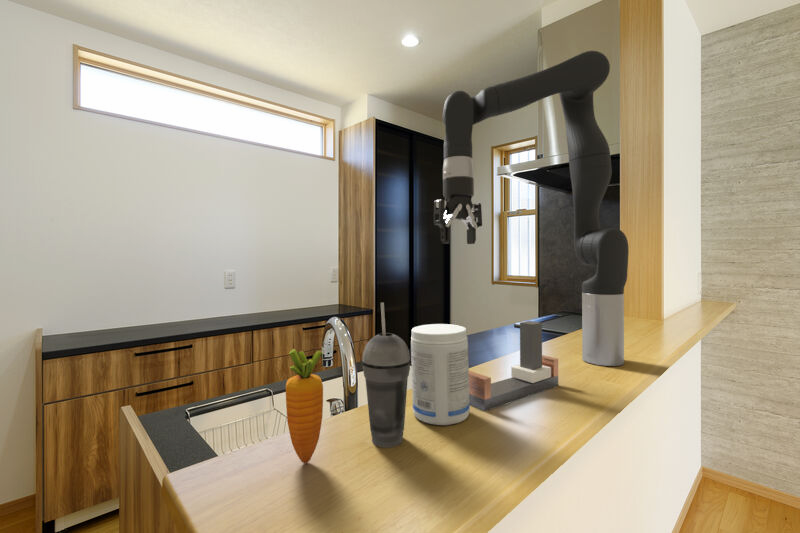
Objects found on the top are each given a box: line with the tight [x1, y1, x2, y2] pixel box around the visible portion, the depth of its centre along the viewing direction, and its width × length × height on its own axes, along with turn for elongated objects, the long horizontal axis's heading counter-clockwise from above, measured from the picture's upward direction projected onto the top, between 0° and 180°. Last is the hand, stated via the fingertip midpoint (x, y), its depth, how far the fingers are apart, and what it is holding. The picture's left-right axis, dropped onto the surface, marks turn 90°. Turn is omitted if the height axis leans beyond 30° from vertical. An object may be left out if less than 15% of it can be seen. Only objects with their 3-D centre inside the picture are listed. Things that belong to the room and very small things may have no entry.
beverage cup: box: [360, 302, 412, 449], centre depth 54 cm, size 7×7×20 cm
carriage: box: [510, 320, 551, 383], centre depth 76 cm, size 6×5×11 cm
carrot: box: [285, 348, 324, 464], centre depth 48 cm, size 5×5×15 cm
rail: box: [469, 354, 559, 412], centre depth 72 cm, size 22×5×6 cm, turn 125°
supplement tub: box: [410, 323, 471, 426], centre depth 63 cm, size 10×10×15 cm
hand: (458, 243), depth 93 cm, fingers open, 8 cm apart
